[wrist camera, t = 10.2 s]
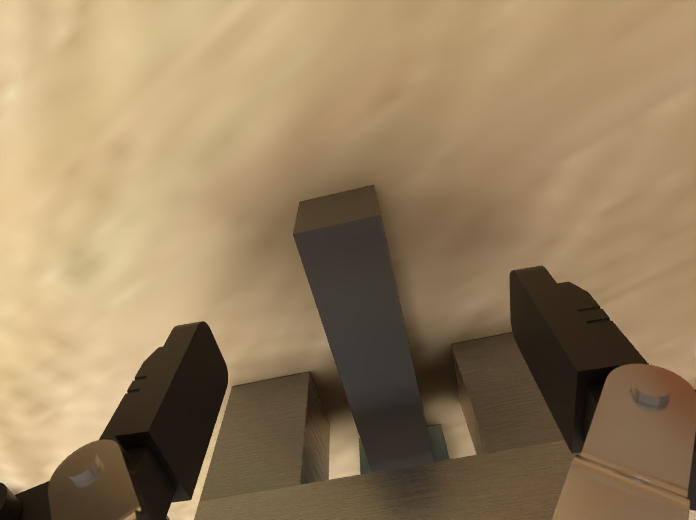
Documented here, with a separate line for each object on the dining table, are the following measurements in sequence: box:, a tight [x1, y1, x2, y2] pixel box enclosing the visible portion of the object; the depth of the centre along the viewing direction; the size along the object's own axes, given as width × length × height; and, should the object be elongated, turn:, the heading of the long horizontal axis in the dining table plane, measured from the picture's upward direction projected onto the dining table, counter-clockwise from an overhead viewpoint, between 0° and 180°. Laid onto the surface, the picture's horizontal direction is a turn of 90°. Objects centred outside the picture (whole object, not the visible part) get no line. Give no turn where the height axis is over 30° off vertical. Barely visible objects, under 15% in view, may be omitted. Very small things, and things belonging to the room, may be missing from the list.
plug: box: [293, 185, 449, 474], centre depth 21 cm, size 21×4×4 cm, turn 13°
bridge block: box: [194, 333, 581, 520], centre depth 19 cm, size 15×4×9 cm, turn 103°
